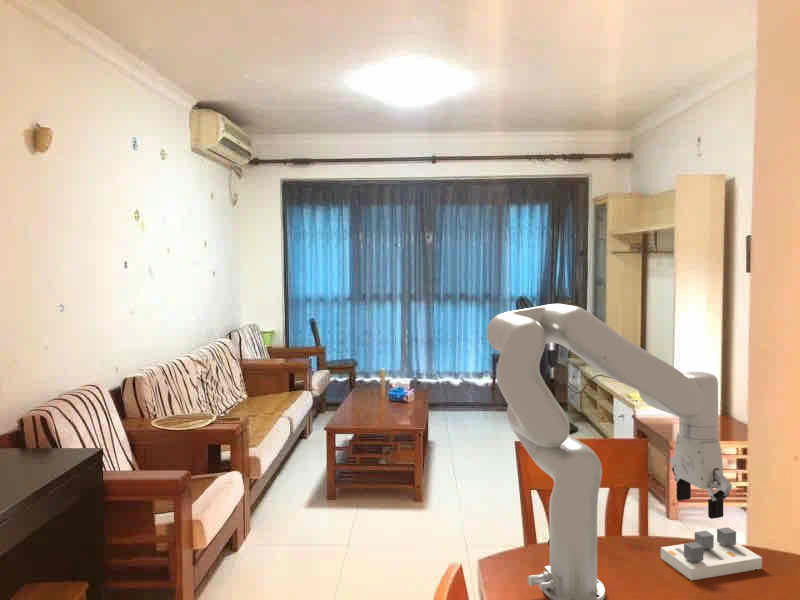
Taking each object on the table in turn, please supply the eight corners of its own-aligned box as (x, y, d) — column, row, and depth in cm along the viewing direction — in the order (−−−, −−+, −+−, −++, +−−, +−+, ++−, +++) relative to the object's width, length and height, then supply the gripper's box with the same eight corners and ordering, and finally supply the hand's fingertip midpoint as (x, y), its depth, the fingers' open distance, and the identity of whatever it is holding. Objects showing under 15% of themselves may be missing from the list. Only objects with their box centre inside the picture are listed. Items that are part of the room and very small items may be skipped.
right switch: (724, 546, 137) (724, 533, 137) (716, 541, 140) (717, 529, 139) (735, 544, 138) (736, 531, 138) (727, 539, 140) (728, 527, 140)
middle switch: (702, 549, 136) (702, 536, 136) (694, 544, 138) (694, 532, 138) (713, 548, 137) (713, 535, 136) (705, 543, 139) (706, 530, 139)
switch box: (691, 580, 129) (691, 568, 129) (660, 557, 138) (660, 546, 138) (761, 568, 133) (762, 557, 133) (727, 547, 143) (727, 536, 142)
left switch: (691, 562, 131) (691, 548, 130) (683, 556, 133) (684, 543, 133) (703, 560, 131) (703, 546, 131) (695, 555, 134) (695, 541, 133)
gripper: (657, 421, 137) (658, 495, 138) (713, 444, 120) (713, 527, 121) (685, 418, 139) (686, 490, 140) (745, 440, 122) (745, 522, 123)
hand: (699, 508), depth 131 cm, fingers open, 9 cm apart
